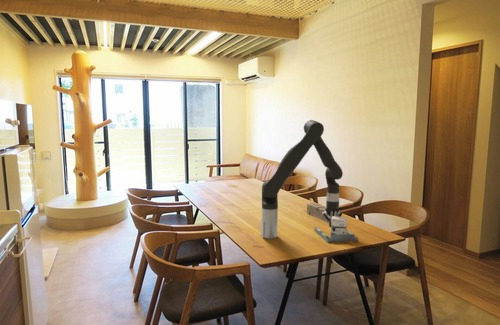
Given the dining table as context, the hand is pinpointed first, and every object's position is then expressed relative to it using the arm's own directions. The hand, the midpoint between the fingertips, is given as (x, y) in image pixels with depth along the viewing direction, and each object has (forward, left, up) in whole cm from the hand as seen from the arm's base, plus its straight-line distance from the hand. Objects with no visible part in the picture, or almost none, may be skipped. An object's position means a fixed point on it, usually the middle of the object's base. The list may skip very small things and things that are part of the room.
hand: (331, 227), depth 205 cm
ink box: (0, -9, -3) cm, 10 cm away
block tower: (+6, +30, -4) cm, 31 cm away
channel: (0, -7, -3) cm, 7 cm away
